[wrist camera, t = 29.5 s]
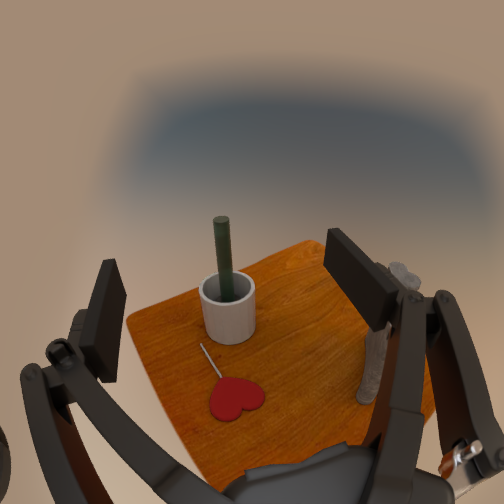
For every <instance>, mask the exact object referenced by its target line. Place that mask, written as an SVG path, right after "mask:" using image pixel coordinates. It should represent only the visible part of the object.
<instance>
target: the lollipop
mask: <svg viewBox="0 0 504 504" xmlns="http://www.w3.org/2000/svg"><path fill="white" fill-rule="evenodd" d="M200 346H201V347H202V349H203V351H204V352H205V354H206V356H207V357H208V359H209V361H210V362H211V364H212V365H213V367H214V369H215V370H216V372H217V373H218V375H219V376H220V380H219V381H218V383H217V384H216V386H215V388H214V390H213V392H212V395H211V397H210V411H211V413H212V415H213V416H214V417H215V418H216V419H218V420H221V421H232V420H234V419H236V418H238V417H239V416H240V414H241V413H242V409H244V410H254V409H257V408H259V407H260V406H261V405H262V404H263V402H264V399H265V394H264V391H263V390H262V388H261V387H260V386H259V385H257V384H255V383H253V382H251V381H248V380H244V379H239V378H232V377H222V375H221V374H220V372H219V371H218V369H217V368H216V366H215V364H214V363H213V361H212V360H211V358H210V356H209V355H208V353H207V352H206V350H205V348H204V347H203V345H202V343H200Z"/></svg>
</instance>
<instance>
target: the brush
mask: <svg viewBox="0 0 504 504" xmlns="http://www.w3.org/2000/svg"><path fill="white" fill-rule="evenodd" d="M213 225H214V235H215V246H216V256H217V265H218V275H219V284H220V292H221V296H219V297H218V298H216V300H215V301H214V302H219V303H231V302H235V301H238V300H240V299H242V298H241V297H240V296H238V295H236V294H234V281H233V268H232V254H231V240H230V225H229V218H228V217H226V216H218V217H215V218H214V219H213Z"/></svg>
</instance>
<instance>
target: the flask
mask: <svg viewBox="0 0 504 504" xmlns="http://www.w3.org/2000/svg"><path fill="white" fill-rule="evenodd" d="M388 270H389V271H390V273H392V274H393V275H394V277H396V278H397V279H398V280H399V281H400V282H401V283H402V284H403V285H404V286H405V287H406V288H407V289H408V290H415V291H417V290H418V289H419V287H420V284H421V280H420V279H419V277H418V276H416V275H415V274H413V273H410V272H409V271H408V269H407V267H406V266H405V265H404V264H402V263H400V262H391V263H390V264H389V267H388ZM391 326H392V325H391V324H390V323H389V321H388V322H387V325H386V327H385V329H383V330H380V331H378V332H375V333H374V332H373V331H372V330H371V328H370V327H369V330H368V333H367V336H366V338H365V347H366V360H365V368H364V373H363V377H362V381H361V384H360V387H359V389H358V391H357V394H356V399H357V401H358V402H359V403H361V404H364V405H367V404H370V403H371V402H372V401H373V400H374V398H375V397H376V395H377V393H378V390H379V386H380V381H381V377H382V372H383V367H384V362H385V356H386V351H387V345H388V340H386V338H387V335H388V333H389V331H390V328H391ZM388 339H389V338H388Z"/></svg>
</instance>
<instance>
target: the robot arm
mask: <svg viewBox="0 0 504 504" xmlns="http://www.w3.org/2000/svg"><path fill="white" fill-rule="evenodd" d="M323 265H324V267H325V268H326V269H327V270H328V272H329V273H330V274H331V276H332V277H333V278H334V280H335V281H336V282H337V284H338V285H339V286H340V288H341V289H342V290H343V292H344V293H345V294H346V296H347V297H348V298H349V300H350V301H351V302H352V304H353V305H354V306H355V308H356V309H357V310H358V312H359V313H360V314H361V316H362V317H363V319H364V320H365V321H366V323H367V324H368V325H369V327H370V328H371V330H372V331H373V332H374V333H375V332H378V331H380V330H383V329H385V327H386V325H387V322H388V321H389V323H390V324H391V325H392V326H391V328H390V331H389V333H388V335H387V338H386V340H388V345H387V351H386V356H385V362H384V367H383V372H382V377H381V381H380V386H379V390H378V394H377V399H376V403H375V407H374V411H373V414H372V418H371V422H370V425H369V429H368V432H367V434H366V437H365V439H364V441H363V443H362V445H361V446H360V445H347V443H346V441H344V442H342V443H339V444H336V445H333V446H331V447H328V448H325V449H322V450H321V451H319V452H318V453H316V454H314V455H313V456H311V457H309V458H308V459H306V460H304V461H303V462H301V463H295V464H270V465H266V466H262V467H257V468H252V469H248V470H244V471H245V475H243V476H240V477H238V478H237V479H235V480H234V481H232V482H231V483H230V484H228V485H227V486H226V487H225V488H224V490H223V491H222V492H221V493H220V492H219V491H217V490H216V489H214V488H213V487H212V486H210V485H209V484H207V483H206V482H205V481H203V480H202V479H200V478H199V477H198V476H196V475H195V474H194V473H193V472H191V471H190V470H188V469H187V468H186V467H184V466H183V465H181V464H180V463H179V462H177V461H176V460H175V459H174V458H173V457H171V456H170V455H169V454H168V453H167V452H166V451H164V450H163V449H162V448H161V447H160V446H159V445H158V444H156V442H155V441H153V440H152V439H151V438H150V437H149V436H148V435H147V434H146V433H145V432H144V431H143V430H142V429H141V428H140V427H139V426H138V425H137V424H136V423H135V422H134V421H133V420H132V419H131V418H130V417H129V416H128V415H127V414H126V413H125V412H124V411H123V410H122V409H121V408H120V406H119V405H118V404H117V403H116V402H115V401H114V400H113V399H112V398H111V396H110V395H109V394H108V393H107V392H106V391H105V390H104V389H103V387H102V386H101V385H100V384H99V382H98V381H97V378H99V379H100V380H101V382H102V383H114V382H116V381H117V368H118V357H119V348H120V338H121V331H122V323H123V316H124V309H125V303H126V296H127V294H126V292H125V289H124V286H123V283H122V280H121V277H120V273H119V270H118V267H117V264H116V261H115V259H108V260H103V262H102V265H101V268H100V271H99V274H98V277H97V280H96V283H95V286H94V290H93V293H92V296H91V299H90V303H89V306H88V309H81V310H79V311H78V312H77V313H76V315H75V316H74V318H73V322H72V326H71V328H70V332H69V336H68V339H67V340H66V339H63V338H59V339H56V340H54V341H52V342H51V343H50V344H49V345H48V347H47V348H46V353H45V354H46V357H47V359H48V360H49V361H50V363H51V364H52V365H51V366H48V367H45V368H42V369H41V368H40V366H39V365H38V364H36V363H31V364H28V365H27V366H25V367H24V368H23V370H22V371H21V374H20V381H21V388H22V394H23V400H24V405H25V410H26V415H27V419H28V424H29V428H30V432H31V435H32V439H33V443H34V446H35V450H36V453H37V456H38V459H39V463H40V466H41V468H42V471H43V474H44V477H45V480H46V482H47V485H48V487H49V490H50V492H51V495H52V497H53V499H54V501H55V504H114V503H113V502H112V500H111V499H110V496H109V495H108V493H107V491H106V490H105V488H104V486H103V484H102V482H101V480H100V478H99V476H98V474H97V472H96V470H95V468H94V466H93V464H92V462H91V460H90V458H89V456H88V453H87V451H86V449H85V447H84V445H83V442H82V440H81V437H80V435H79V432H78V430H77V427H76V425H75V422H74V419H73V417H72V414H71V411H70V408H69V405H68V404H71V403H74V402H77V403H78V405H79V406H80V408H81V409H82V410H83V412H84V413H85V415H86V416H87V417H88V419H89V420H90V421H91V422H92V424H93V425H94V426H95V427H96V429H97V430H98V431H99V433H100V434H101V435H102V436H103V437H104V439H105V440H106V441H107V442H108V443H109V444H110V446H111V447H112V448H113V449H114V450H115V451H116V452H117V454H118V455H119V456H120V457H121V458H122V459H123V460H124V461H125V462H126V463H127V464H128V465H129V466H130V467H131V468H132V469H133V470H134V471H135V472H136V473H137V474H138V475H139V476H140V477H141V478H142V479H143V480H144V481H145V482H146V483H147V484H148V485H149V486H150V487H151V488H152V490H153V491H154V492H155V493H156V494H157V495H158V496H159V497H160V498H161V499H162V500H164V501H165V502H166V503H167V504H455V500H456V499H458V498H459V497H461V496H462V495H464V494H465V493H467V492H468V491H469V490H471V489H472V488H474V487H475V486H476V485H478V484H480V483H482V482H484V481H486V480H487V479H489V478H491V477H493V476H494V475H496V474H498V473H499V472H501V471H502V470H504V434H503V432H502V430H501V428H500V427H499V424H498V422H497V421H496V419H495V417H494V413H493V409H492V405H491V401H490V396H489V393H488V389H487V385H486V381H485V378H484V374H483V371H482V368H481V365H480V362H479V359H478V356H477V353H476V350H475V347H474V344H473V341H472V339H471V336H470V333H469V331H468V328H467V325H466V323H465V320H464V318H463V316H462V313H461V311H460V308H459V306H458V304H457V302H456V299H455V297H454V296H453V295H452V294H451V293H450V292H448V291H446V290H438V291H437V292H436V294H435V296H434V297H424V296H423V295H422V294H421V293H419V292H417V291H415V290H408V289H407V288H406V287H405V286H404V285H403V284H402V283H401V282H400V281H399V280H398V279H397V278H396V277H394V275H393V274H392V273H390V271H389V270H388V269H387V268H386V267H385V266H383V265H381V264H380V263H378V262H377V263H374V262H373V261H371V259H370V258H369V257H368V256H367V255H366V254H365V253H364V252H363V251H362V250H361V249H360V248H359V247H358V246H357V245H355V243H354V242H353V241H351V239H349V238H348V237H347V236H346V235H345V234H344V233H343V232H342V231H341V230H340V229H339V228H332V229H328V233H327V241H326V249H325V256H324V263H323ZM388 338H389V339H388ZM425 352H426V357H427V361H428V366H429V371H430V376H431V382H432V387H433V393H434V399H435V406H436V413H437V421H438V429H439V439H440V445H441V450H442V454H443V458H442V461H441V464H440V466H439V468H438V471H439V473H440V474H441V477H440V476H437V475H434V474H431V473H429V472H426V471H423V470H421V469H418V468H416V464H417V459H418V454H419V449H420V444H421V438H422V433H423V427H424V414H421V412H420V409H421V401H422V392H423V382H424V369H425Z"/></svg>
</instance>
